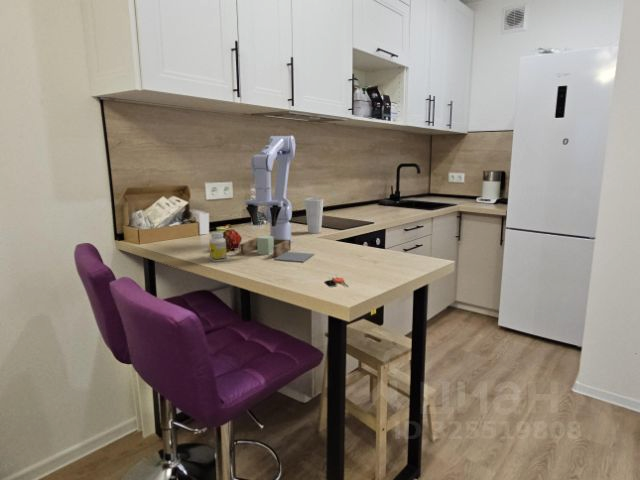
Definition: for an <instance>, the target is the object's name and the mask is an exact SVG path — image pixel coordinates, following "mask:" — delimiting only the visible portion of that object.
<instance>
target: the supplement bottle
mask: <svg viewBox="0 0 640 480" xmlns="http://www.w3.org/2000/svg"><path fill="white" fill-rule="evenodd" d="M223 232H224V231H217V230H216V231H212V232H211V233H210V235H211V236H210V237H211V238H210V239H209V247H210V249H209V250H210V260H211V261H212V262H215V263H216V262H217V263H218V262H224V261H227V259H228V256H227V254H228V253H227V250H226V240H225V238H223Z"/></svg>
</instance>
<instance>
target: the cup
mask: <svg viewBox="0 0 640 480" xmlns="http://www.w3.org/2000/svg"><path fill="white" fill-rule="evenodd" d="M304 203H305V212H306V213H305V214H306V223H307V232H308V233H309V234H320V233H321V232H322V225H323V224H322V223H323V211H324V210H323V208H324V198H320V197H309V198H305V199H304Z"/></svg>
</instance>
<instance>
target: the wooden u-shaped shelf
mask: <svg viewBox="0 0 640 480" xmlns="http://www.w3.org/2000/svg"><path fill="white" fill-rule="evenodd" d="M257 238H258V237H255V238H252V239H250V240H248V241H244V242H243V243H242V242H241V243H240V244H239V246H240V255H241V256H245V255H247V254H249V253H252V252H254V251H255V250H258V247H257ZM291 248H292V247H291V242H290V240H286V239H274V247H273V258H274V259H275V258H276V257H278V256H280V255H282V254H283V253H285V252H291Z"/></svg>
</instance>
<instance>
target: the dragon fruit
mask: <svg viewBox="0 0 640 480" xmlns="http://www.w3.org/2000/svg"><path fill="white" fill-rule="evenodd" d="M222 232H223V238H225V240H226V251H231V250H232V249H234V250H236V249H237V250H238V249H239V246H240V244H241V243H242V239H243V238H242V236H241V235H240V233H239V232H238V231H237V230H235V229H234V228H232V229H226V230H225V231H222Z"/></svg>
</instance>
